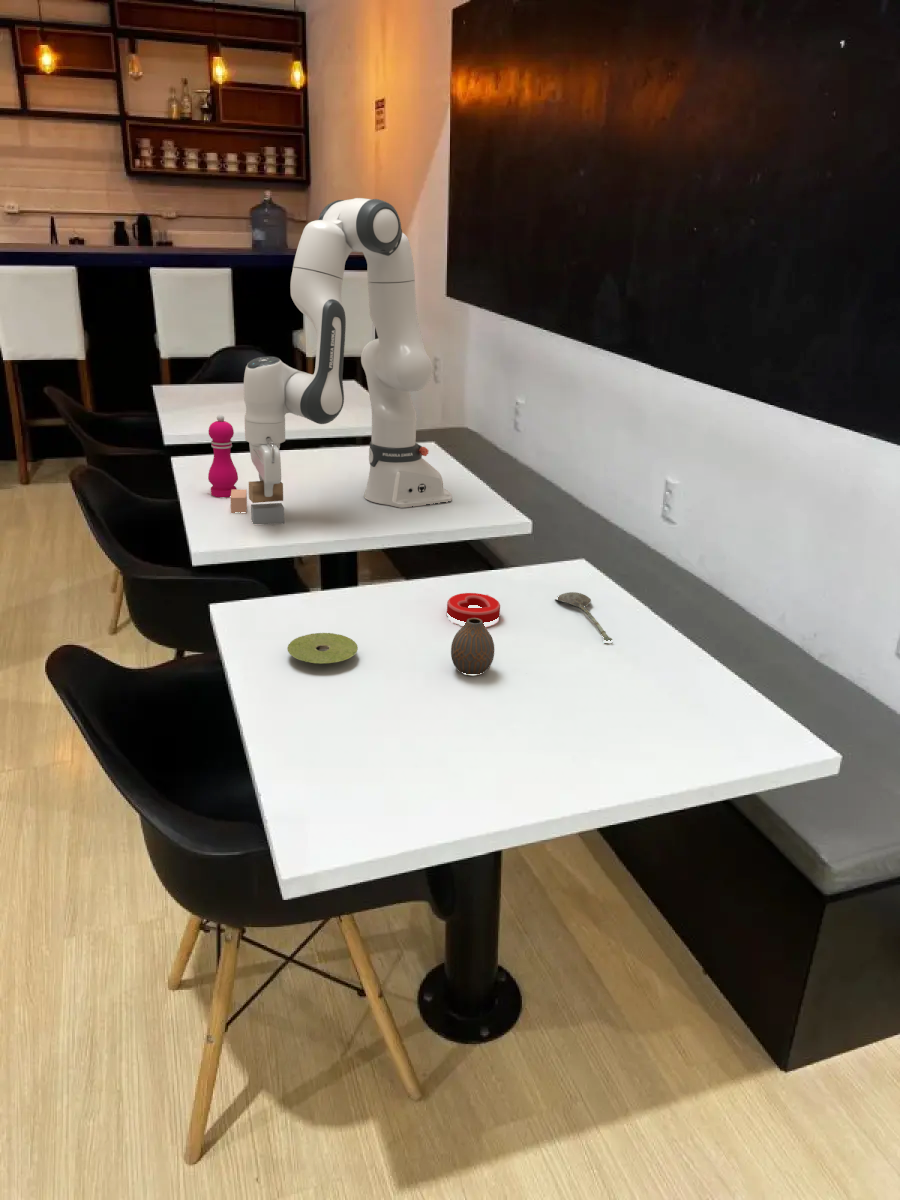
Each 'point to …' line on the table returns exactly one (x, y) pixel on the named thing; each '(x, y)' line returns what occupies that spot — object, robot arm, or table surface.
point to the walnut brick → (258, 492)
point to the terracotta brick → (238, 500)
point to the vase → (472, 648)
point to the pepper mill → (222, 459)
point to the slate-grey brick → (267, 513)
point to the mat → (322, 648)
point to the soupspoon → (582, 607)
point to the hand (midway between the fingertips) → (266, 492)
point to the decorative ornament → (460, 610)
